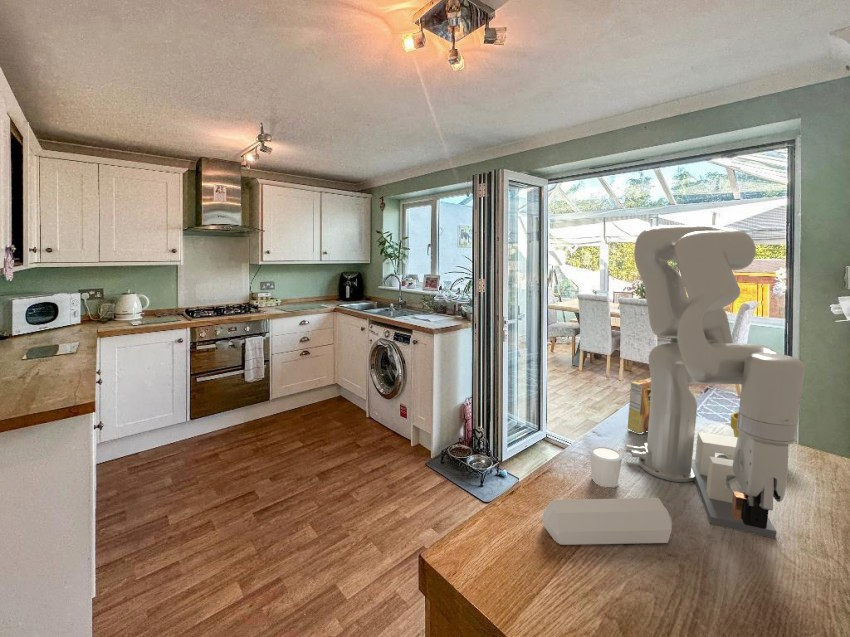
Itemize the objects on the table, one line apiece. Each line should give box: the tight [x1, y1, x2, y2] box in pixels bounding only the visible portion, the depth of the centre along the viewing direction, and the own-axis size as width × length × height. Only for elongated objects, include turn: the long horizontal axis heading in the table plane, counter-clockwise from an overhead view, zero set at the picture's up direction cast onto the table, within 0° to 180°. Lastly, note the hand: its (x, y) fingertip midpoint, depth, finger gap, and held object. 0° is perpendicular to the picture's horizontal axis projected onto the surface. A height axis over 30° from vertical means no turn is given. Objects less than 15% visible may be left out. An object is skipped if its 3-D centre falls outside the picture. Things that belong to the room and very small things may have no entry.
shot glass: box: [589, 446, 623, 488], centre depth 91 cm, size 7×7×7 cm
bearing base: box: [691, 431, 777, 540], centre depth 85 cm, size 24×10×10 cm, turn 154°
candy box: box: [627, 377, 651, 433], centre depth 117 cm, size 9×4×15 cm, turn 116°
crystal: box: [542, 497, 673, 546], centre depth 74 cm, size 7×7×24 cm
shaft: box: [717, 454, 745, 521], centre depth 80 cm, size 20×4×4 cm, turn 154°
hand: (753, 523), depth 69 cm, fingers closed
